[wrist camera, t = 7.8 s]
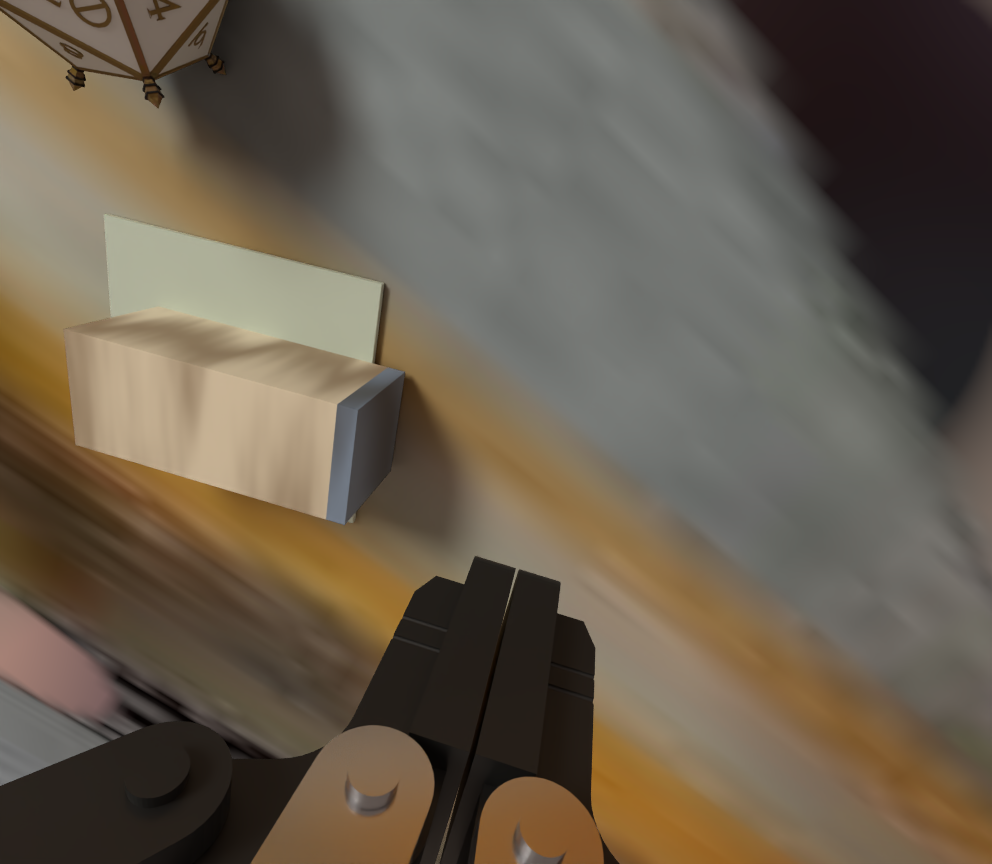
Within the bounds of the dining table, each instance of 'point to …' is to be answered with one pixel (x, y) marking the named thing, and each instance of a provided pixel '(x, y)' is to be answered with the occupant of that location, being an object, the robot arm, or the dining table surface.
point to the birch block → (234, 409)
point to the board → (241, 289)
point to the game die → (124, 36)
